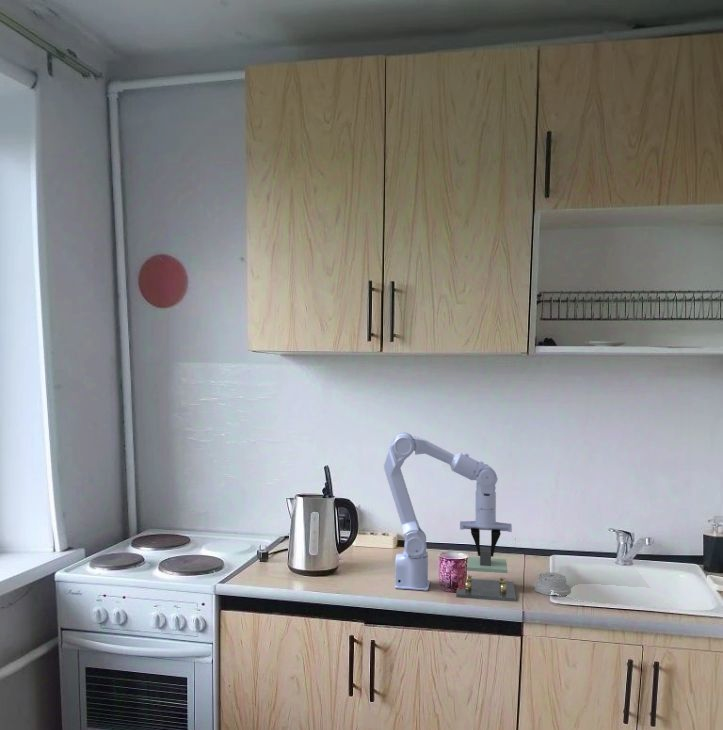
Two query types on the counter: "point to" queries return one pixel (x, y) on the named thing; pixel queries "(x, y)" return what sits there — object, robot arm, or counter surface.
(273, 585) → the counter surface
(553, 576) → the mechanical component
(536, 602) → the counter surface
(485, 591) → the plate
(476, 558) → the circuit board
